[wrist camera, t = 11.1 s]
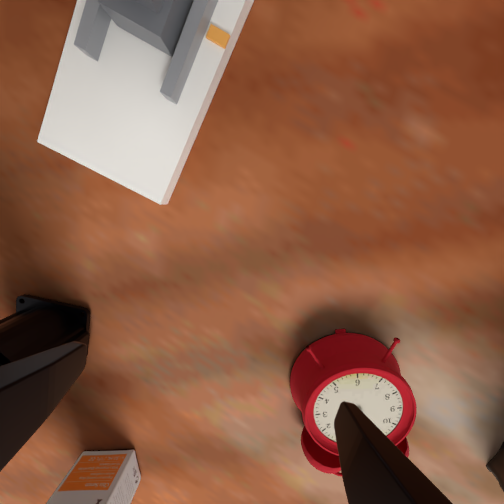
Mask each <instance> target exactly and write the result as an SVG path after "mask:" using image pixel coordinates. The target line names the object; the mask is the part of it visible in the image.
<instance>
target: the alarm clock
mask: <svg viewBox="0 0 504 504" xmlns="http://www.w3.org/2000/svg"><path fill="white" fill-rule="evenodd" d="M335 333H336V334H334V335H330V336H327V337H324V338H322V339H319V340H317V341H316V342H314V343H312V344H311V345H310V346H307V347H306V349H305V350H304V351H303V352H302V353H301V354H300V355H299V357H298V358H297V360H296V361H295V363H294V365H293V368H292V371H291V376H290V388H291V393H292V397H293V400H294V402H295V404H296V405H297V407H298V408H299V409H300V411H301V412H302V417H303V422H304V425H305V426H304V428H303V431H302V434H301V445H302V449H303V452H304V454H305V456H306V458H307V460H308V461H309V462H310V464H311V465H312V466H314V467H315V468H316V469H318V470H320V471H322V472H324V473H330V474H331V473H333V474H335V475H338V476H342V473H339V471H341V466H340V460H339V454H338V448H337V442H336V436H335V430H334V420H335V417H336V414H337V411H338V409H339V406H340V404H341V402H343V401H345V402H350V403H353V404H355V405H356V406H357V407H358V408H359V409H360V410H361V411H362V412H363V413H364V414H365V415H366V416H367V417H368V418H369V419H370V420H371V421H372V422H373V423H374V424H375V425H376V426H377V427H378V428H379V429H380V430H381V431H382V432H383V433H384V434H385V435H386V436H387V437H388V438H389V439H390V440H391V441H392V442H393V443H394V444H395V445H396V447H397V448H398V449H399V450H400V451H401V452H402V453H403V454H404V455H405V456H406V457H407V458H408V456H409V446H408V442H407V439H406V436H407V435H408V433H409V432H410V430H411V428H412V427H413V424H414V421H415V418H416V402H415V398H414V396H413V393H412V390H411V388H410V386H409V385H408V383H407V382H406V380H405V379H404V378H403V377H402V376H401V373H400V368H399V365H398V363H397V361H396V359H395V357H394V356H393V355H392V353H391V352H392V350H393V349H394V347H395V345H396V344H397V343H400V339H398V338H394V343H393V344H392V346H391V347H390V349H389V350H388V349H387V348H386V347H385V346H384V345H383V344H382V343H380V342H379V341H377V340H375V339H373V338H371V337H368V336H365V335H362V334H356V333H346V329H337V330H335Z"/></svg>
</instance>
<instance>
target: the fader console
mask: <svg viewBox="0 0 504 504" xmlns="http://www.w3.org/2000/svg"><path fill="white" fill-rule="evenodd" d="M253 2H254V0H194V1H193V3H192V6H191V9H190V11H189V14H188V17H187V19H186V22H185V25H184V27H183V30H182V33H181V35H180V38H179V41H178V43H177V46H176V49H175V51H174V54H173V57H171V56H169V55H168V54H166V53H164V52H162V51H161V50H159V49H157V48H155V47H153V46H152V45H150V44H148V43H146V42H145V41H143V40H141V39H139V38H137V37H136V36H134V35H132V34H130V33H129V32H127V31H125V30H123V29H121V28H120V27H118V26H117V25H116V24H115V22H114V21H113V20H112V19H111V18H110V16H109V15H108V14H107V13H106V11H105V10H104V9H103V8H102V6H101V5H100V4H99V3H98V0H77V3H76V6H75V10H74V13H73V17H72V20H71V24H70V28H69V31H68V35H67V38H66V42H65V45H64V49H63V52H62V56H61V59H60V63H59V66H58V70H57V73H56V77H55V81H54V84H53V88H52V91H51V95H50V98H49V102H48V105H47V109H46V112H45V116H44V119H43V123H42V126H41V130H40V133H39V137H38V141H37V142H39V143H41V144H42V145H44V146H46V147H48V148H50V149H52V150H54V151H56V152H58V153H60V154H62V155H64V156H66V157H68V158H70V159H72V160H74V161H76V162H78V163H80V164H82V165H84V166H86V167H88V168H90V169H92V170H94V171H96V172H98V173H99V174H101V175H103V176H105V177H107V178H109V179H111V180H113V181H115V182H117V183H119V184H121V185H123V186H125V187H127V188H129V189H131V190H133V191H135V192H137V193H139V194H141V195H143V196H145V197H147V198H149V199H151V200H153V201H154V202H156V203H158V204H168V202H169V200H170V198H171V195H172V193H173V190H174V188H175V186H176V183H177V181H178V179H179V176H180V174H181V172H182V169H183V167H184V165H185V162H186V160H187V157H188V155H189V153H190V150H191V148H192V146H193V143H194V141H195V139H196V136H197V134H198V131H199V129H200V127H201V124H202V122H203V120H204V117H205V115H206V113H207V110H208V108H209V106H210V103H211V101H212V98H213V96H214V94H215V91H216V89H217V87H218V84H219V82H220V80H221V77H222V75H223V73H224V70H225V68H226V65H227V63H228V61H229V58H230V56H231V54H232V51H233V49H234V47H235V44H236V42H237V40H238V37H239V35H240V32H241V30H242V28H243V25H244V23H245V21H246V18H247V16H248V14H249V11H250V9H251V7H252V4H253Z"/></svg>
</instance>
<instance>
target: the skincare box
mask: <svg viewBox="0 0 504 504" xmlns="http://www.w3.org/2000/svg"><path fill="white" fill-rule="evenodd" d="M140 480H141V475H140V471H139V467H138V463H137V459H136V454H135V450H118V451H84V452H82V454H81V455H80V457H79V458H78V459H77V461H76V462H75V463H74V465H73V466H72V468H71V469H70V470H69V472H68V473H67V475H66V476H65V477H64V479H63V480H62V482H61V483H60V485H59V486H58V487H57V489H56V490H55V491H54V493H53V494H52V496H51V497H50V499H49V500H48V501H47V503H46V504H130V503H131V501H132V499H133V496H134V494H135V492H136V489H137V487H138V485H139V483H140Z"/></svg>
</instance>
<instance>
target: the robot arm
mask: <svg viewBox="0 0 504 504" xmlns="http://www.w3.org/2000/svg"><path fill="white" fill-rule="evenodd" d="M82 312H83V313H84V314H85V315H84V314H83V313H82ZM89 323H90V311H89V309H87V308H84V307H80V306H76V305H71V304H67V303H62V302H58V301H53V300H49V299H45V298H40V297H36V296H31V295H27V294H24V295H21V296H19V297H17V300H16V313H15V314H12V315H10V316H8V317H6V318H4V319H2V320H0V471H1V470H2V469H3V468H4V467H5V466H6V464H7V463H8V462H9V461H10V460H11V459H12V458H13V457H14V455H15V454H16V453H17V452H18V451H19V450H20V449H21V447H22V446H23V445H24V444H25V443H26V442H27V441H28V440H29V438H30V437H31V436H32V435H33V434H34V433H35V432H36V431H37V429H38V428H39V427H40V426H41V425H42V424H43V422H44V421H45V420H46V419H47V418H48V416H49V415H50V414H51V413H52V411H53V410H54V409H55V407H56V406H57V405H58V403H59V402H60V401H61V399H62V398H63V397H64V395H65V394H66V393H67V391H68V390H69V389H70V387H71V386H72V385H73V383H74V382H75V381H76V379H77V378H78V377H79V375H80V374H81V373H82V371H83V369H84V367H85V365H86V356H87V354H88V344H89ZM334 430H335V436H336V442H337V448H338V454H339V460H340V466H341V472H342V477H343V482H344V486H345V491H346V495H347V499H348V503H349V504H452V503H451V502H450V501H449V499H448V498H447V497H446V496H445V495H444V494H443V493H442V492H441V491H440V490H439V489H438V488H437V487H436V486H435V485H434V484H433V483H432V482H431V481H430V480H429V479H428V478H427V477H426V476H425V475H424V474H423V473H422V472H421V471H420V470H419V469H418V468H417V467H416V466H415V465H414V464H413V463H412V462H411V461H410V460H409V459H408V458H407V457H406V456H405V455H404V454H403V453H402V452H401V451H400V450H399V449H398V448H397V447H396V445H395V444H394V443H393V442H392V441H391V440H390V439H389V438H388V437H387V436H386V435H385V434H384V433H383V432H382V431H381V430H380V429H379V428H378V427H377V426H376V425H375V424H374V423H373V422H372V421H371V420H370V419H369V418H368V417H367V416H366V415H365V414H364V413H363V412H362V411H361V410H360V409H359V408H358V407H357V406H356V405H355V404H353V403H350V402H345V401H343V402H341V404H340V406H339V409H338V411H337V414H336V417H335V420H334Z"/></svg>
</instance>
